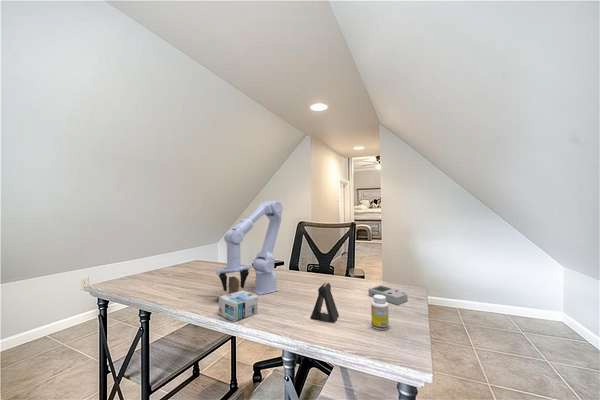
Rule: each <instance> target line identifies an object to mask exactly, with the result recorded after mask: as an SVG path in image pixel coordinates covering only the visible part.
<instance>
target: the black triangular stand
mask: <svg viewBox="0 0 600 400" xmlns="http://www.w3.org/2000/svg"><path fill="white" fill-rule="evenodd" d="M331 288H332V286H331V284H330V283H329V282H327V283H326V282H324V283H323V284H322V285H321V286H319V287H318V290H317V292H318V296H317V298H316V301H315V304H314V307H313V310H312V313H311V316H310V320H313V321H318V322H319V321H320V322H327V323H331V324H335V323H336V321H337V320H338V318H339V311H338V309H337V306H336V302H335V300H334V297H333V293H332V290H331ZM323 303H324V304H325V306H326V312H327V313H325V312H324V313H323V312H321V311H322V308H323Z"/></svg>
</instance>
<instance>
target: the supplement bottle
mask: <svg viewBox="0 0 600 400" xmlns="http://www.w3.org/2000/svg"><path fill="white" fill-rule="evenodd" d="M370 307H371V327H372V328H374V329H375V330H379V331H385V330H386V331H387V330H388V329H389V327H390V321H389V319H390V318H389V317H390V316H389V315H390V314H389V312H390V311H389V302H387V301H386V297H385V296H383V295H374V297H373V300H372V301H371V305H370Z"/></svg>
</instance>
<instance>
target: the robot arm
mask: <svg viewBox="0 0 600 400" xmlns="http://www.w3.org/2000/svg"><path fill="white" fill-rule="evenodd" d="M283 210H284V206H283V205H282V203H281V201H280V200H263V201H262V202H261V203H259V204H258V207H257V208H256V209H255V211H253V212H252V214H250V215H249V217H248V218H242V219H240V220H239V223H237V224H236V225H235V226H233V227H232V229H230V230H227V231H226V233H225V235H224V237H223V239H224V241H225V243H226V267H223V268H219V269H218V268H217V269H216V275H217V276H218V277H219V279H220V281H221V285H222V290H223V291H224V292H227V290H228V289H227V288H228V287H227V286H228V285H227V284H228V283H227V282H228V275H227V274H232V273H239V275H240V288H241V289H245V285H246V284H245V283H246V280H247V278H248V276H249V273H250V271H251V266H250V265H241V243H242V242H243V240H244V237H245V236H246V235H247V234H248V233H249V232H250V231H251V230H252V229H253V227H254V224H255V223H256V222H257V221H258V220H260V218H261V217H262V216H263V217H264V216H266V217H267V218H268V220H269V222H268V226H267V230H266V234H265V236H264V241H263V244H262V247H261V250H260V251H259V252H258V253H257V254H256V255H255V256H256V257H255V258H254V259H253V262H252V268H253V270H254V273H255V288H254V289H252V291H253V292H255V293H256V294H257V295H259V296H261V295H265V294H268V293H269V294H270V293H274V292H278V289H277V274H276V272H275V271H274V269H275V258H276V257H275V256H274V255H273V252H274V248H275V245H276V241H277V237H278V235H279V234H278V233H279V230H280V226H281V223H282V213H283Z"/></svg>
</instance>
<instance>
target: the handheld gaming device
mask: <svg viewBox="0 0 600 400" xmlns="http://www.w3.org/2000/svg"><path fill="white" fill-rule="evenodd" d="M367 290H368V296H369V297H372V298H374V295H383V296H385V297H386V302H387V303H390V304H393V305H400V304H403V303H405V302H407V301H408V294H407V293H406V292H404V291H403V290H398V289H395V288H391V287H388V286H384V285H376V286H373V287H370V288H368V289H367Z"/></svg>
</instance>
